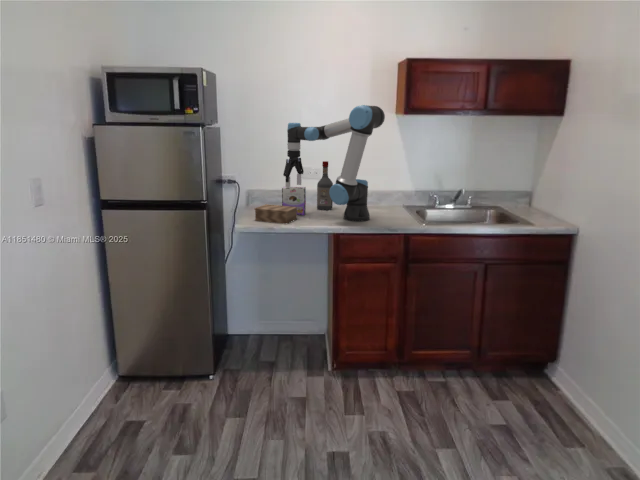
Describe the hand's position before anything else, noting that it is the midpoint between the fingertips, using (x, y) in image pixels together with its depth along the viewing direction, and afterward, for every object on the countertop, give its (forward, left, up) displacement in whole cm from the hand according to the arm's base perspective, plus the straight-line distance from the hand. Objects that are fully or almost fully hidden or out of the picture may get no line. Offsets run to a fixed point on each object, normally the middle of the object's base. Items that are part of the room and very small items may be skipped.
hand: (293, 186), depth 286 cm
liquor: (-9, -24, -17) cm, 31 cm away
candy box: (0, 0, -17) cm, 17 cm away
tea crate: (+1, +19, -17) cm, 26 cm away
